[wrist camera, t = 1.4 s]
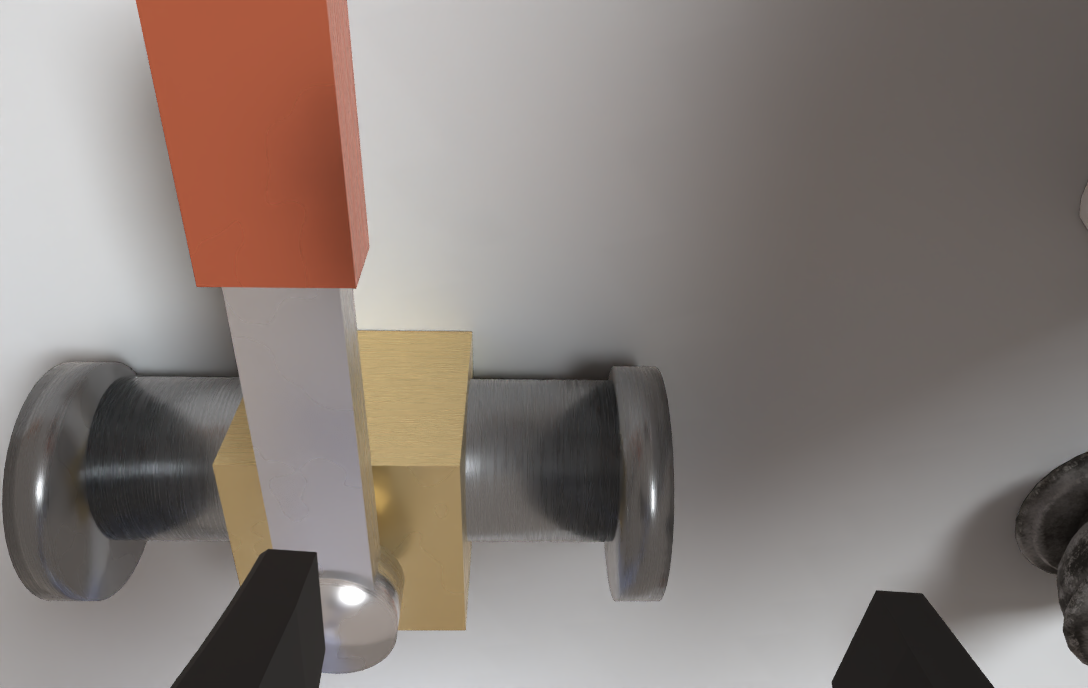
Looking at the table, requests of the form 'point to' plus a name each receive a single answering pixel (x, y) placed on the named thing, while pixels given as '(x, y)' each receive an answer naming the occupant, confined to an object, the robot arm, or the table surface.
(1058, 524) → the salt shaker
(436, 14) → the table surface
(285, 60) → the valve lever
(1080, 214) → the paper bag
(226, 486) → the valve
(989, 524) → the table surface
